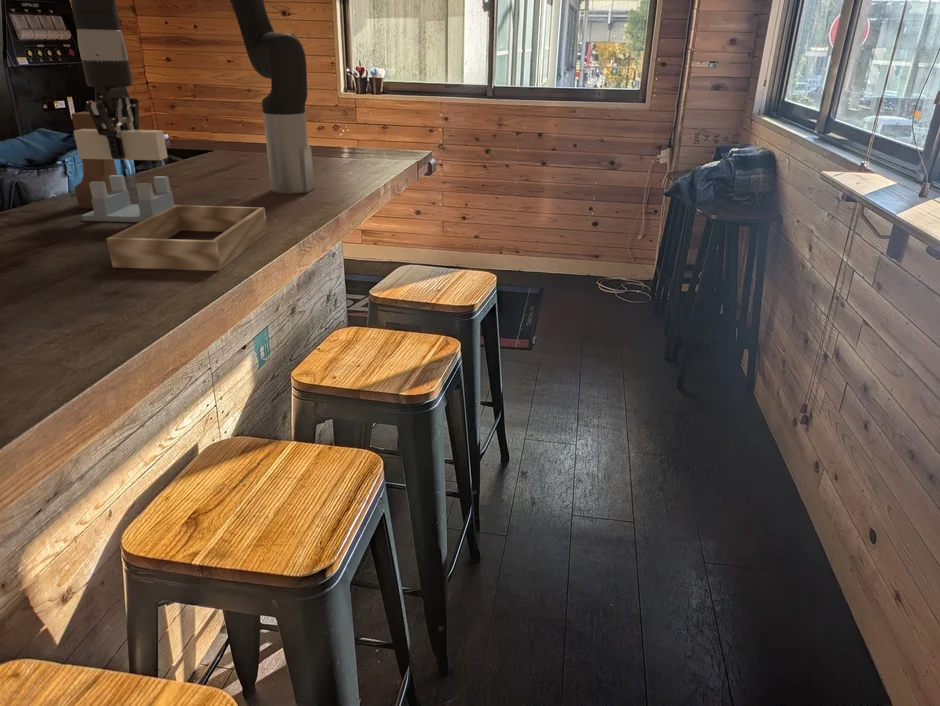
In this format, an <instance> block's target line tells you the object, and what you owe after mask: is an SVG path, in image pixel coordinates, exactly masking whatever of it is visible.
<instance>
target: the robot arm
mask: <svg viewBox="0 0 940 706" xmlns="http://www.w3.org/2000/svg"><path fill="white" fill-rule="evenodd" d="M229 1H230V3H231V7H232V10H233V12H234V15H235V17H236V21H237V23H238V26H239V30H240V33H241V37H242V41H243V44H244V46H245V50H246V54H247V57H248V60H249V62H250V63H251V66H252V68H253V69H254V70H255V72H256V73H257V74H258V75H260V76H262V77H263V78H265V79H270V81H271V82H270V83H271V84H270V85H271V90H270V92H269V94H267V96H265V97H264V98H263V99H262V100H261V108H262V110H261V111H262V118H263V126H264V134H265V135H264V136H265V143H266V145H265V146H266V153H267V161H268V171H269V177H270V178H269V179H270V186H271V192H274V193H279V194H301V193H304V194H305V193H307V194H308V193H310V192H311V191H312V190H313V189H315V178H314V167H313V165H314V164H313V155H312V154H313V153H312V147H311V146H310V145H309V142H308V140H309V139H308V130H307V129H308V128H307V118H306V117H307V116H306V102H307V99H308V75H307V74H308V73H307V60H306V53H305V49H304V46H303V44H302V42H301V41H300V40H299V39H298V38H297V37H296V36H295V35H293V34H291V33H287V32H285V33H284V32H275V30H274V28H273V26H272V23H271V21H270V18H269V14H268V13H267V9H266V4H265V1H264V0H229ZM70 2H71V4H70V5H71V9H72V15H73V20H74V24H75V28H76V35H77V45H78V50H79V53H80V60H81V63H82V64H81V65H82V68H83V73H84V78H85V83H86V85H87V86H88V87H91V88H94V94H95V95H94V98H95V99H94V100H95V101H93V102H87V103H86V108H87V110H88V111H87V112H89V113H90V115H91V118H92V120H93V122H94V124H95V127H96V129H97V131H98V134H99V135H103V136H105V137H106V138H107V139H108V142H109V147H110V152H111V156H112V158H113V159H114V160H116V159H123V158H125V154H124V149H123V144H122V139H121V138H120V137H121V133H120V130H140V116H139V115H140V112H139V111H140V109H139V108H140V106H139V104H140V103H139V102H140V101H139V99H138V98H137V97H135V98H134V97H131V96H130V93H129V91H128V90H127V88H129V87H130V88H131V87H132V86H133V85H134V83H133V77H132V73H131V67H130V62H129V57H128V50H127V46H126V43H125V38H124V36H123V31H122V28H121V22H120V17H119V11H118V7H117V4H116V0H70ZM101 124H103V126H104V128H103V127H102V125H101Z"/></svg>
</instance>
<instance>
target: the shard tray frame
mask: <svg viewBox="0 0 940 706" xmlns="http://www.w3.org/2000/svg"><path fill="white" fill-rule="evenodd" d="M181 231H182V232H183V231H185V232H189V231H190V232H212V233H213V232H215V233H217V232H220V233H221V232H222V233H221V234H219V235H217V236H216V237H214V239H208V240H207V239H205V240H204V239H174V238H173V239H172V238H171V237H173V236H175V235H176V234H179V232H181ZM267 233H268V224H267V215H266V208H265V207H264V206H263V207H257V206H256V207H255V206H228V205H227V206H226V205H225V206H221V205H220V206H219V205H188V204H187V205H185V204H184V205H183V204H174V206H172V207H170V208H168V209H166V210H164V211H162V212H160V213H158V214H155V215H153V216H151V217H149V218H147V219H145V220H143V221H141V222H136V223H135V224H134V225H131V226H130V227H128V228H125V229H124V230H121V231H119V232H117V233H115V234H114V235H111V236H109V237H106V239H105V240H106V243H107V247H108V248H107V249H108V252H109V256H110V260H111V261H110V262H111V265H112V266H111V267H112V268H119V269H122V268H123V269H149V270H150V269H151V270H181V271H182V270H183V271H184V270H185V271H211V272H212V271H215V272H219V271H221V270H222V269H224V267H226V266H227V265H229V264H230V263H231V262H232V261H234V259H236V258H238V256H240V255H241V254H242V253H243V252H244V251H246V250H247V249H248V248H250V247H251V246H252V245H253V244H255V243H256V242H257V241H258V240H259V239H260V238H262V237H263V236H264V235H266V234H267Z"/></svg>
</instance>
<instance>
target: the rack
mask: <svg viewBox="0 0 940 706" xmlns="http://www.w3.org/2000/svg"><path fill="white" fill-rule="evenodd" d="M169 179H170V178H169V176H162V175H161V176H159V175H158V176H156V175H155V176H153V183H154V189H155V193H154V190H153V184H152V182H137V183H136V184H135V187H136V192H137V198H138V200H137V204H136V203H135V204H133V203H132V202H131V197H130V191H129V189H127V185H126V184H127V183H126V180H125V176H124V175H122V174H120V175H119V174H117V175H111V176H109V180H110V184H111V189H112V192H109V193H107V189H106V184H105V182H90V183H89V185H90V189H91V194H92V198H93V199H91V201H92V205H93V209H92V211H89V212H86V213H84V214H82V215H81V217H82V221H91V222H122V223H123V222H124V223H125V222H126V223H139V222H141V221H143V220H145V219H147V218H149V217H151V216H153V215H155V214H158V213H160V212H162V211H164V210H166V209H168V208H170V207H172V206H174V205H175V199H174V195H173V191H172V190H171V185H170V180H169Z"/></svg>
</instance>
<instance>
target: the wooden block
mask: <svg viewBox="0 0 940 706" xmlns="http://www.w3.org/2000/svg"><path fill="white" fill-rule="evenodd" d="M71 119H72V123H73V128H74V131H76V130H80V129H96V127H95V124H94V122H93V120H92V118H91V115H90V113H89V111H79V112H72V113H71ZM101 125H102V127H103V128H104V126H103V124H101ZM81 161H82V169H83V170H82V171H83V175H82V178H81V182H79V183H78V184H77V185H75V186H74V191H75V195H76V199H77V205H78V207H79V209H81V210H83V209H85V210H87V209H89V210H94V209H93V205H92V201H91V199H93V198H92V194H91V189H90V185H89V183H90V182H105V184H106V189H107V193H109V192H112V189H111V184H110V180H109V176H111V175H118V172H117V167H116V163H115V162H116V161H115V159H81Z"/></svg>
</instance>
